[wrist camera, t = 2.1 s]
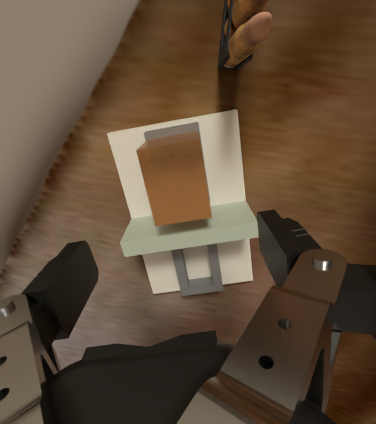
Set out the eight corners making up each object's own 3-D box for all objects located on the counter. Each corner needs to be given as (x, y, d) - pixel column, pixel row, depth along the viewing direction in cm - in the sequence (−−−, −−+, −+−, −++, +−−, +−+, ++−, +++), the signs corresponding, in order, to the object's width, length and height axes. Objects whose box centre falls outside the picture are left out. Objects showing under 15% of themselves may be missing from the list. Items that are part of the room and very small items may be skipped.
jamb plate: (110, 132, 25) (87, 142, 19) (235, 109, 24) (249, 112, 18) (154, 288, 32) (147, 327, 27) (251, 275, 31) (264, 312, 26)
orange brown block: (149, 137, 24) (136, 150, 18) (197, 128, 23) (200, 139, 18) (162, 198, 26) (155, 226, 20) (206, 191, 26) (212, 217, 20)
